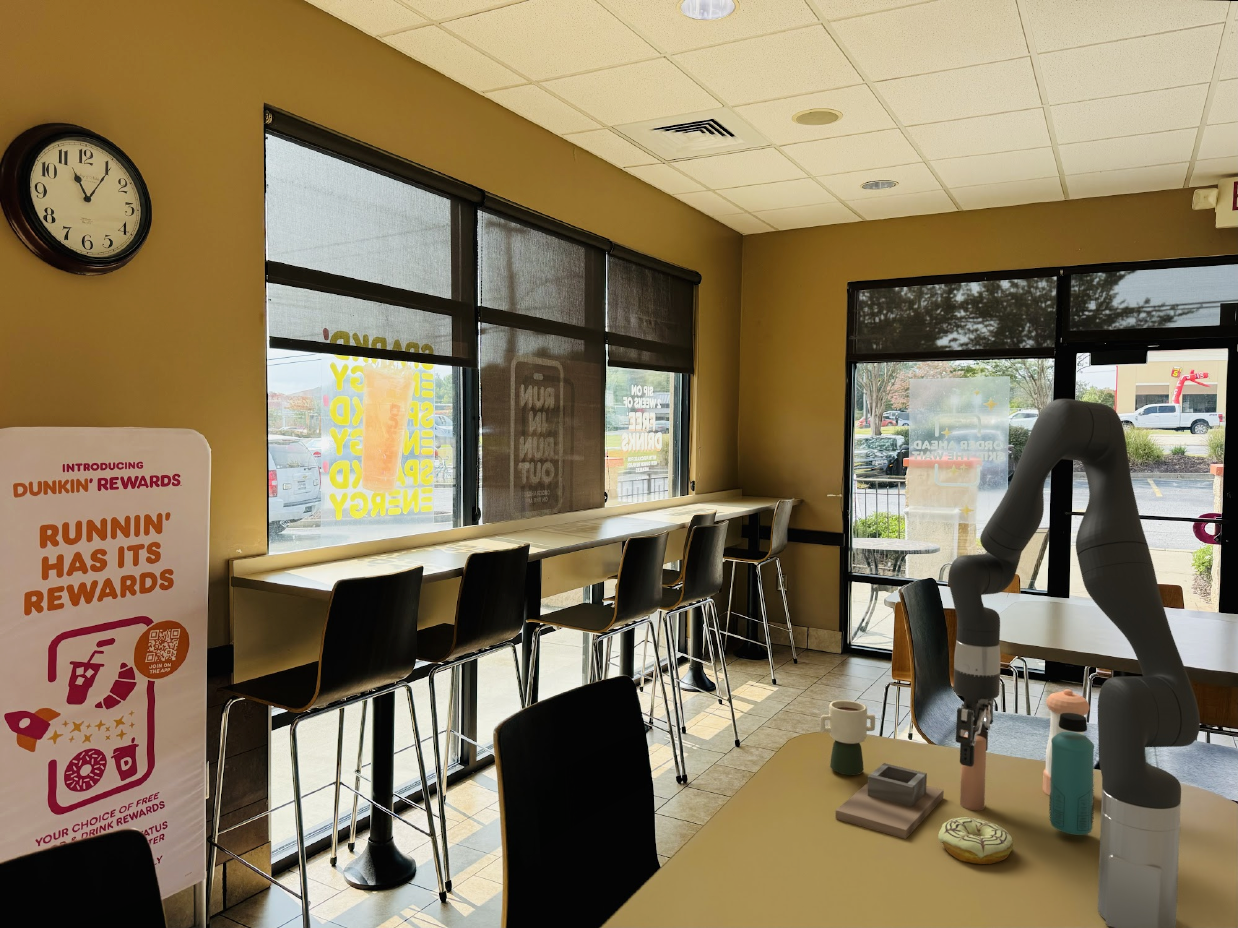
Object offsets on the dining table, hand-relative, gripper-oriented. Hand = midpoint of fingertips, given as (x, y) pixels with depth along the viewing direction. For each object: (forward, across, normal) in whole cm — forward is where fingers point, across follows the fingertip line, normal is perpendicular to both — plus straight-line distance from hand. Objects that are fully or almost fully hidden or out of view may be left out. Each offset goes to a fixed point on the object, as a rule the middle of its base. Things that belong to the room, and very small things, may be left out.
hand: (973, 757), depth 157 cm
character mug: (+9, 0, +24) cm, 25 cm away
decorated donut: (+9, -17, -5) cm, 20 cm away
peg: (+8, 0, 0) cm, 9 cm away
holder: (+8, -10, +11) cm, 17 cm away
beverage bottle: (+8, -2, -16) cm, 18 cm away
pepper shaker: (+9, +16, -12) cm, 22 cm away
